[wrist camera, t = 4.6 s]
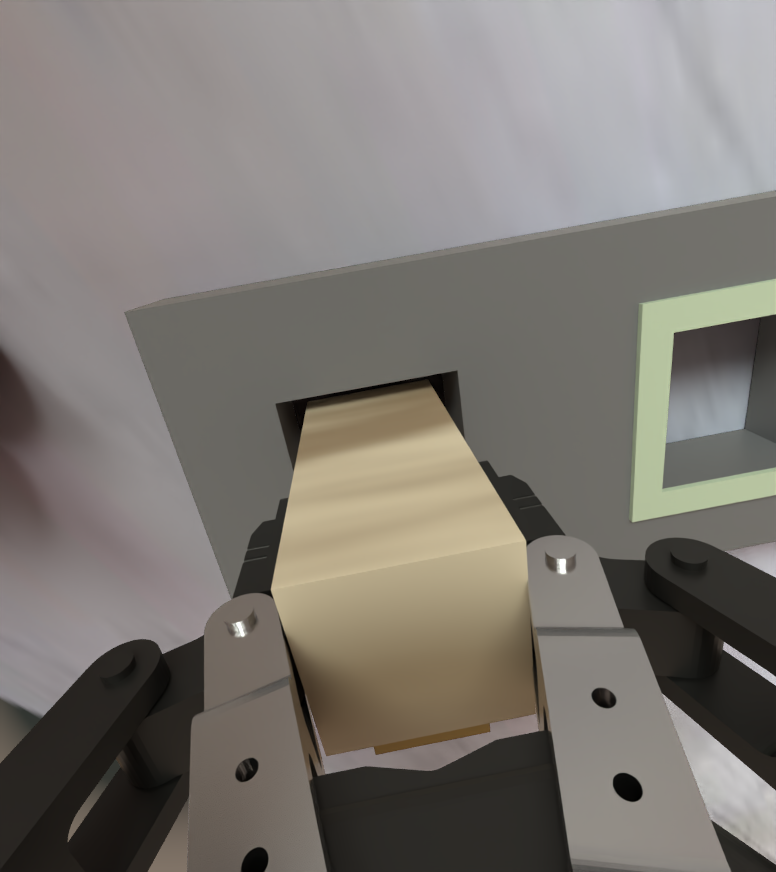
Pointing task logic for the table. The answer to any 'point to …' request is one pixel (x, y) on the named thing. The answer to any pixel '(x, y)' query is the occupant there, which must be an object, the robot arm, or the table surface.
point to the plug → (401, 577)
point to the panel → (494, 372)
